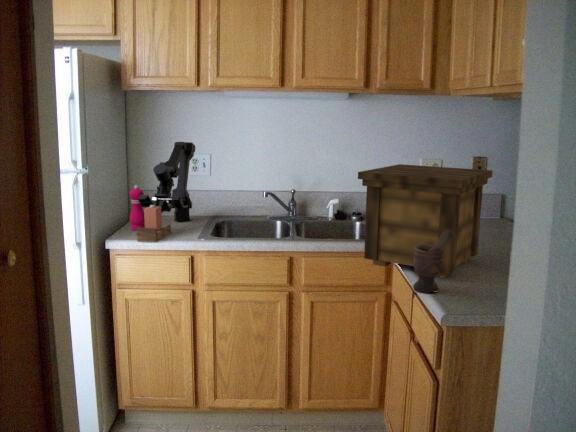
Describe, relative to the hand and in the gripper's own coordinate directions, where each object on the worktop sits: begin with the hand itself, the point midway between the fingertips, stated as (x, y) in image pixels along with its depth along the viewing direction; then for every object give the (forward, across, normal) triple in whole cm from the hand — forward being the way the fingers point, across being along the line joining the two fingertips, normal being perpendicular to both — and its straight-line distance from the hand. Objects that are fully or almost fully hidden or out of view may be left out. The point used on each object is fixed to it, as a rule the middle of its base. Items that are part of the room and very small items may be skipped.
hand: (156, 217), depth 221 cm
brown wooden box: (+7, 0, -4) cm, 8 cm away
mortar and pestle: (+44, -108, +32) cm, 121 cm away
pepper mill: (-2, +13, -14) cm, 19 cm away
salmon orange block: (+6, 0, -1) cm, 6 cm away
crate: (+22, -108, +10) cm, 111 cm away
